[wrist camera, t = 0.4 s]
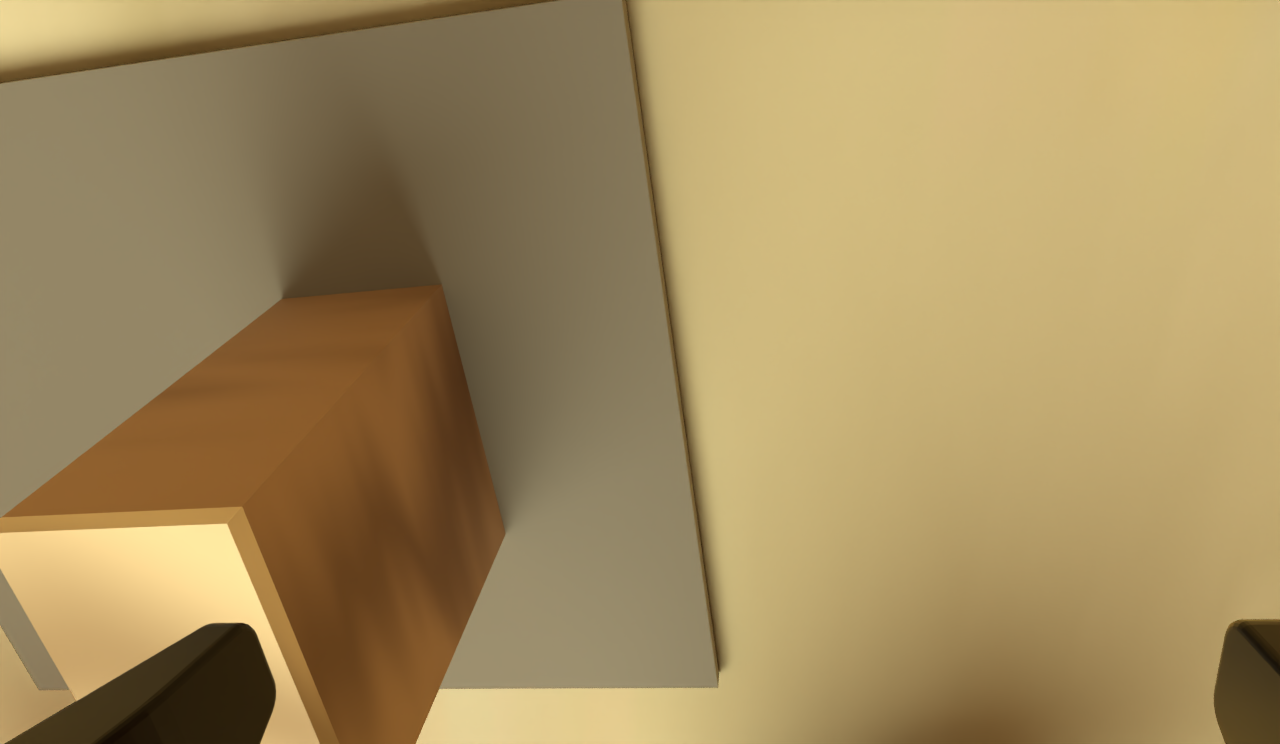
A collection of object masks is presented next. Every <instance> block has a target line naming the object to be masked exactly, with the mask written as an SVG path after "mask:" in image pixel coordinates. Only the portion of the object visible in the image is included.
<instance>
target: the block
mask: <svg viewBox="0 0 1280 744" xmlns="http://www.w3.org/2000/svg"><path fill="white" fill-rule="evenodd" d="M505 534H506V533H505V529H504V525H503V522H502V518H501V514H500V510H499V506H498V502H497V498H496V494H495V490H494V486H493V482H492V479H491V475H490V471H489V467H488V463H487V459H486V455H485V451H484V447H483V443H482V439H481V436H480V432H479V428H478V424H477V420H476V416H475V412H474V408H473V404H472V400H471V397H470V393H469V389H468V385H467V381H466V377H465V373H464V369H463V365H462V361H461V357H460V354H459V350H458V346H457V342H456V338H455V334H454V330H453V326H452V322H451V318H450V315H449V311H448V307H447V303H446V299H445V295H444V291H443V287H442V284H441V285H430V286H419V287H408V288H397V289H386V290H375V291H364V292H353V293H342V294H331V295H320V296H309V297H298V298H287V299H281V300H280V301H278V302H277V303H276V304H275V305H273V306H272V307H271V308H270V309H268V310H267V311H266V312H264V313H263V314H262V315H261V316H259V317H258V318H257V319H255V320H254V321H253V322H252V323H250V324H249V325H248V326H246V327H245V328H244V329H243V330H241V331H240V332H239V333H237V334H236V335H235V336H234V337H232V338H231V339H230V340H228V341H227V342H226V343H225V344H223V345H222V346H221V347H219V348H218V349H217V350H216V351H214V352H213V353H212V354H210V355H209V356H208V357H207V358H205V359H204V360H203V361H201V362H200V363H199V364H198V365H196V366H195V367H194V368H192V369H191V370H190V371H189V372H187V373H186V374H185V375H183V376H182V377H181V378H180V379H178V380H177V381H176V382H174V383H173V384H172V385H171V386H169V387H168V388H167V389H165V390H164V391H163V392H162V393H160V394H159V395H158V396H157V397H155V398H154V399H153V400H151V401H150V402H149V403H148V404H146V405H145V406H144V407H142V408H141V409H140V410H139V411H137V412H136V413H135V414H133V415H132V416H131V417H130V418H128V419H127V420H126V421H124V422H123V423H122V424H121V425H119V426H118V427H117V428H115V429H114V430H113V431H112V432H110V433H109V434H108V435H106V436H105V437H104V438H103V439H101V440H100V441H99V442H97V443H96V444H95V445H94V446H92V447H91V448H90V449H88V450H87V451H86V452H85V453H83V454H82V455H81V456H79V457H78V458H77V459H76V460H74V461H73V462H72V463H70V464H69V465H68V466H67V467H65V468H64V469H63V470H61V471H60V472H59V473H58V474H56V475H55V476H54V477H52V478H51V479H50V480H49V481H47V482H46V483H45V484H43V485H42V486H41V487H40V488H38V489H37V490H36V491H35V492H33V493H32V494H31V495H29V496H28V497H27V498H26V499H24V500H23V501H22V502H20V503H19V504H18V505H17V506H15V507H14V508H13V509H11V510H10V511H9V512H8V513H6V514H5V515H4V516H2V517H1V518H0V569H1V571H2V573H3V574H4V576H5V578H6V580H7V581H8V583H9V585H10V587H11V588H12V590H13V592H14V594H15V595H16V597H17V599H18V601H19V602H20V604H21V606H22V608H23V609H24V611H25V613H26V614H27V616H28V618H29V620H30V621H31V623H32V625H33V627H34V628H35V630H36V632H37V634H38V635H39V637H40V639H41V641H42V642H43V644H44V646H45V648H46V649H47V651H48V653H49V654H50V656H51V658H52V660H53V661H54V663H55V665H56V667H57V668H58V670H59V672H60V674H61V675H62V677H63V679H64V681H65V682H66V684H67V686H68V687H69V689H70V691H71V693H72V694H73V696H74V698H75V700H76V701H78V700H79V699H81V698H83V697H84V696H86V695H88V694H89V693H91V692H93V691H94V690H96V689H98V688H99V687H101V686H103V685H105V684H106V683H108V682H110V681H111V680H113V679H115V678H116V677H118V676H120V675H121V674H123V673H125V672H127V671H128V670H130V669H132V668H133V667H135V666H137V665H138V664H140V663H142V662H143V661H145V660H147V659H148V658H150V657H152V656H154V655H155V654H157V653H159V652H160V651H162V650H164V649H165V648H167V647H169V646H170V645H172V644H174V643H175V642H177V641H179V640H181V639H182V638H184V637H186V636H187V635H189V634H191V633H192V632H194V631H196V630H197V629H199V628H201V627H203V626H205V625H207V624H210V623H245V624H248V625H250V626H251V627H252V628H253V629H254V630H255V632H256V634H257V636H258V639H259V641H260V644H261V647H262V649H263V652H264V654H265V657H266V660H267V662H268V665H269V667H270V670H271V673H272V675H273V678H274V681H275V684H276V701H275V706H274V709H273V712H272V715H271V718H270V720H269V723H268V725H267V728H266V730H265V733H264V736H263V738H262V741H261V743H260V744H416V741H417V739H418V737H419V734H420V732H421V730H422V727H423V725H424V723H425V720H426V718H427V716H428V713H429V711H430V709H431V706H432V704H433V702H434V699H435V697H436V695H437V692H438V690H439V688H440V685H441V683H442V681H443V678H444V676H445V674H446V672H447V669H448V667H449V665H450V662H451V660H452V658H453V655H454V653H455V651H456V648H457V646H458V644H459V641H460V639H461V637H462V634H463V632H464V630H465V627H466V625H467V623H468V620H469V618H470V616H471V613H472V611H473V609H474V606H475V604H476V602H477V599H478V597H479V595H480V593H481V590H482V588H483V586H484V583H485V581H486V579H487V576H488V574H489V572H490V569H491V567H492V565H493V562H494V560H495V558H496V555H497V553H498V551H499V548H500V546H501V544H502V541H503V539H504V537H505Z"/></svg>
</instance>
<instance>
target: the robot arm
mask: <svg viewBox="0 0 1280 744" xmlns="http://www.w3.org/2000/svg"><path fill="white" fill-rule="evenodd" d="M275 701H276V684H275V681H274V678H273V675H272V673H271V670H270V667H269V665H268V662H267V660H266V657H265V654H264V652H263V649H262V647H261V644H260V641H259V639H258V636H257V634H256V632H255V630H254V629H253V628H252V627H251V626H250V625H248V624H245V623H210V624H207V625H205V626H203V627H201V628H199V629H197V630H196V631H194V632H192V633H191V634H189V635H187V636H186V637H184V638H182V639H181V640H179V641H177V642H175V643H174V644H172V645H170V646H169V647H167V648H165V649H164V650H162V651H160V652H159V653H157V654H155V655H154V656H152V657H150V658H148V659H147V660H145V661H143V662H142V663H140V664H138V665H137V666H135V667H133V668H132V669H130V670H128V671H127V672H125V673H123V674H121V675H120V676H118V677H116V678H115V679H113V680H111V681H110V682H108V683H106V684H105V685H103V686H101V687H99V688H98V689H96V690H94V691H93V692H91V693H89V694H88V695H86V696H84V697H83V698H81V699H79V700H78V701H76V702H74V703H72V704H71V705H69V706H67V707H66V708H64V709H62V710H61V711H59V712H57V713H56V714H54V715H52V716H51V717H49V718H47V719H45V720H44V721H42V722H40V723H39V724H37V725H35V726H34V727H32V728H30V729H29V730H27V731H25V732H24V733H22V734H20V735H18V736H17V737H15V738H13V739H12V740H10V741H8V742H7V743H5V744H260V743H261V741H262V738H263V736H264V733H265V730H266V728H267V725H268V723H269V720H270V718H271V715H272V712H273V709H274V706H275ZM1214 707H1215V714H1216V718H1217V722H1218V725H1219V727H1220V730H1221V733H1222V735H1223V738H1224V741H1225V743H1226V744H1280V619H1242V620H1237V621H1235V622H1233V623H1231V624H1230V625H1229V627H1228V628H1227V631H1226V634H1225V638H1224V643H1223V648H1222V653H1221V659H1220V664H1219V669H1218V674H1217V680H1216V685H1215V691H1214Z"/></svg>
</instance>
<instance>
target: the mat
mask: <svg viewBox="0 0 1280 744" xmlns="http://www.w3.org/2000/svg"><path fill="white" fill-rule="evenodd" d="M441 284H442V287H443V291H444V295H445V299H446V303H447V307H448V311H449V315H450V318H451V322H452V326H453V330H454V334H455V338H456V342H457V346H458V350H459V354H460V357H461V361H462V365H463V369H464V373H465V377H466V381H467V385H468V389H469V393H470V397H471V400H472V404H473V408H474V412H475V416H476V420H477V424H478V428H479V432H480V436H481V439H482V443H483V447H484V451H485V455H486V459H487V463H488V467H489V471H490V475H491V479H492V482H493V486H494V490H495V494H496V498H497V502H498V506H499V510H500V514H501V518H502V522H503V525H504V529H505V533H506V534H505V537H504V539H503V541H502V544H501V546H500V548H499V551H498V553H497V555H496V558H495V560H494V562H493V565H492V567H491V569H490V572H489V574H488V576H487V579H486V581H485V583H484V586H483V588H482V590H481V593H480V595H479V597H478V599H477V602H476V604H475V606H474V609H473V611H472V613H471V616H470V618H469V620H468V623H467V625H466V627H465V630H464V632H463V634H462V637H461V639H460V641H459V644H458V646H457V648H456V651H455V653H454V655H453V658H452V660H451V662H450V665H449V667H448V669H447V672H446V674H445V676H444V678H443V681H442V683H441V685H440V688H439V689H492V688H718V681H719V671H718V664H717V656H716V649H715V642H714V635H713V628H712V620H711V613H710V606H709V599H708V591H707V584H706V577H705V570H704V562H703V555H702V548H701V541H700V534H699V526H698V519H697V512H696V505H695V497H694V490H693V483H692V476H691V468H690V461H689V454H688V447H687V439H686V432H685V425H684V418H683V411H682V403H681V396H680V389H679V382H678V374H677V367H676V360H675V353H674V345H673V338H672V331H671V324H670V317H669V309H668V302H667V295H666V288H665V280H664V273H663V266H662V259H661V251H660V244H659V237H658V230H657V223H656V215H655V208H654V201H653V194H652V186H651V179H650V172H649V165H648V157H647V150H646V143H645V136H644V129H643V121H642V114H641V107H640V100H639V92H638V85H637V78H636V71H635V63H634V56H633V49H632V42H631V34H630V27H629V20H628V13H627V6H626V0H553V1H546V2H540V3H533V4H526V5H519V6H513V7H506V8H499V9H492V10H486V11H479V12H472V13H466V14H459V15H452V16H445V17H439V18H432V19H425V20H419V21H412V22H405V23H398V24H392V25H385V26H378V27H371V28H365V29H358V30H351V31H345V32H338V33H331V34H324V35H318V36H311V37H304V38H298V39H291V40H284V41H277V42H271V43H264V44H257V45H250V46H244V47H237V48H230V49H224V50H217V51H210V52H203V53H197V54H190V55H183V56H177V57H170V58H163V59H156V60H150V61H143V62H136V63H129V64H123V65H116V66H109V67H103V68H96V69H89V70H82V71H76V72H69V73H62V74H56V75H49V76H42V77H35V78H29V79H22V80H15V81H8V82H2V83H0V518H1V517H2V516H4V515H5V514H6V513H8V512H9V511H10V510H11V509H13V508H14V507H15V506H17V505H18V504H19V503H20V502H22V501H23V500H24V499H26V498H27V497H28V496H29V495H31V494H32V493H33V492H35V491H36V490H37V489H38V488H40V487H41V486H42V485H43V484H45V483H46V482H47V481H49V480H50V479H51V478H52V477H54V476H55V475H56V474H58V473H59V472H60V471H61V470H63V469H64V468H65V467H67V466H68V465H69V464H70V463H72V462H73V461H74V460H76V459H77V458H78V457H79V456H81V455H82V454H83V453H85V452H86V451H87V450H88V449H90V448H91V447H92V446H94V445H95V444H96V443H97V442H99V441H100V440H101V439H103V438H104V437H105V436H106V435H108V434H109V433H110V432H112V431H113V430H114V429H115V428H117V427H118V426H119V425H121V424H122V423H123V422H124V421H126V420H127V419H128V418H130V417H131V416H132V415H133V414H135V413H136V412H137V411H139V410H140V409H141V408H142V407H144V406H145V405H146V404H148V403H149V402H150V401H151V400H153V399H154V398H155V397H157V396H158V395H159V394H160V393H162V392H163V391H164V390H165V389H167V388H168V387H169V386H171V385H172V384H173V383H174V382H176V381H177V380H178V379H180V378H181V377H182V376H183V375H185V374H186V373H187V372H189V371H190V370H191V369H192V368H194V367H195V366H196V365H198V364H199V363H200V362H201V361H203V360H204V359H205V358H207V357H208V356H209V355H210V354H212V353H213V352H214V351H216V350H217V349H218V348H219V347H221V346H222V345H223V344H225V343H226V342H227V341H228V340H230V339H231V338H232V337H234V336H235V335H236V334H237V333H239V332H240V331H241V330H243V329H244V328H245V327H246V326H248V325H249V324H250V323H252V322H253V321H254V320H255V319H257V318H258V317H259V316H261V315H262V314H263V313H264V312H266V311H267V310H268V309H270V308H271V307H272V306H273V305H275V304H276V303H277V302H278V301H280V300H281V299H287V298H298V297H309V296H320V295H331V294H342V293H353V292H364V291H375V290H386V289H397V288H408V287H419V286H430V285H441ZM0 626H1V627H2V629H3V631H4V632H5V634H6V636H7V637H8V639H9V641H10V642H11V644H12V646H13V648H14V649H15V651H16V653H17V654H18V656H19V658H20V659H21V661H22V663H23V664H24V666H25V668H26V669H27V671H28V673H29V674H30V676H31V678H32V679H33V681H34V683H35V684H36V686H37V688H38V689H39V690H70V689H69V687H68V686H67V684H66V682H65V681H64V679H63V677H62V675H61V674H60V672H59V670H58V668H57V667H56V665H55V663H54V661H53V660H52V658H51V656H50V654H49V653H48V651H47V649H46V648H45V646H44V644H43V642H42V641H41V639H40V637H39V635H38V634H37V632H36V630H35V628H34V627H33V625H32V623H31V621H30V620H29V618H28V616H27V614H26V613H25V611H24V609H23V608H22V606H21V604H20V602H19V601H18V599H17V597H16V595H15V594H14V592H13V590H12V588H11V587H10V585H9V583H8V581H7V580H6V578H5V576H4V574H3V573H2V571H1V569H0Z"/></svg>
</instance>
